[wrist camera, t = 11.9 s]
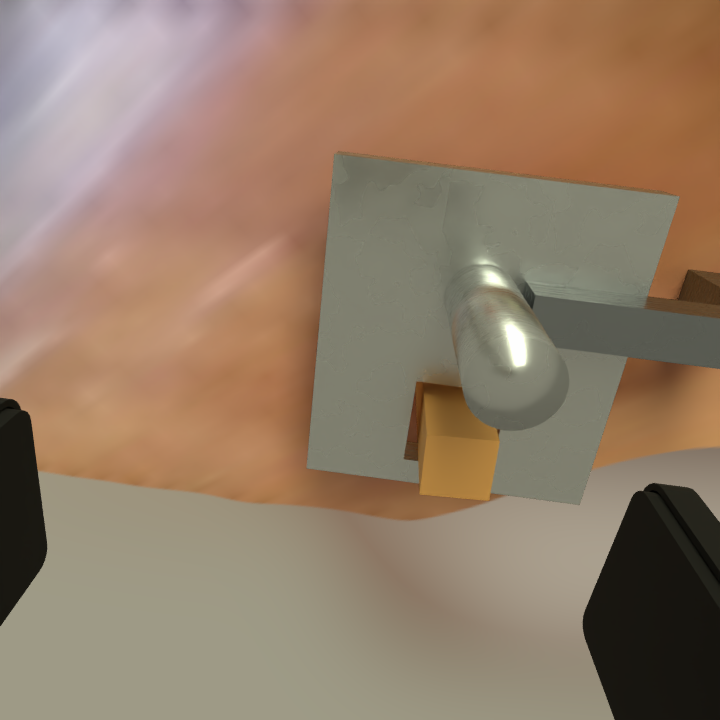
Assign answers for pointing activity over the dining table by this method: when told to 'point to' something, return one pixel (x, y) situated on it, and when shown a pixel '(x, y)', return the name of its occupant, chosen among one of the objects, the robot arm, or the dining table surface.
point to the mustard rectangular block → (453, 445)
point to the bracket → (634, 321)
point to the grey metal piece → (470, 313)
